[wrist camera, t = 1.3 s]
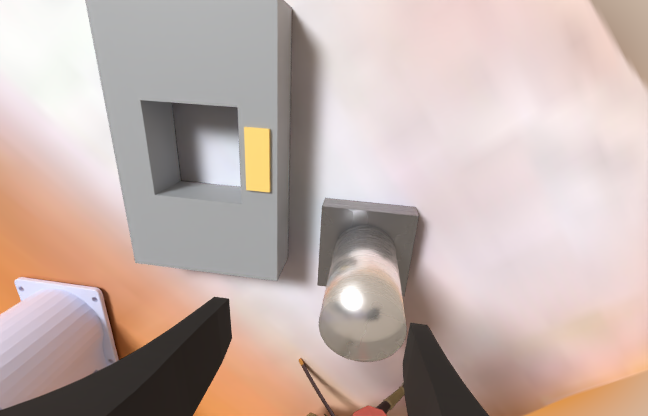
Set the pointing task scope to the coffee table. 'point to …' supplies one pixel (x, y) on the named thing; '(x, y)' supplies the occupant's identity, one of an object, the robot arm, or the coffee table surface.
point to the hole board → (205, 89)
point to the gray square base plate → (355, 213)
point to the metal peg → (363, 297)
